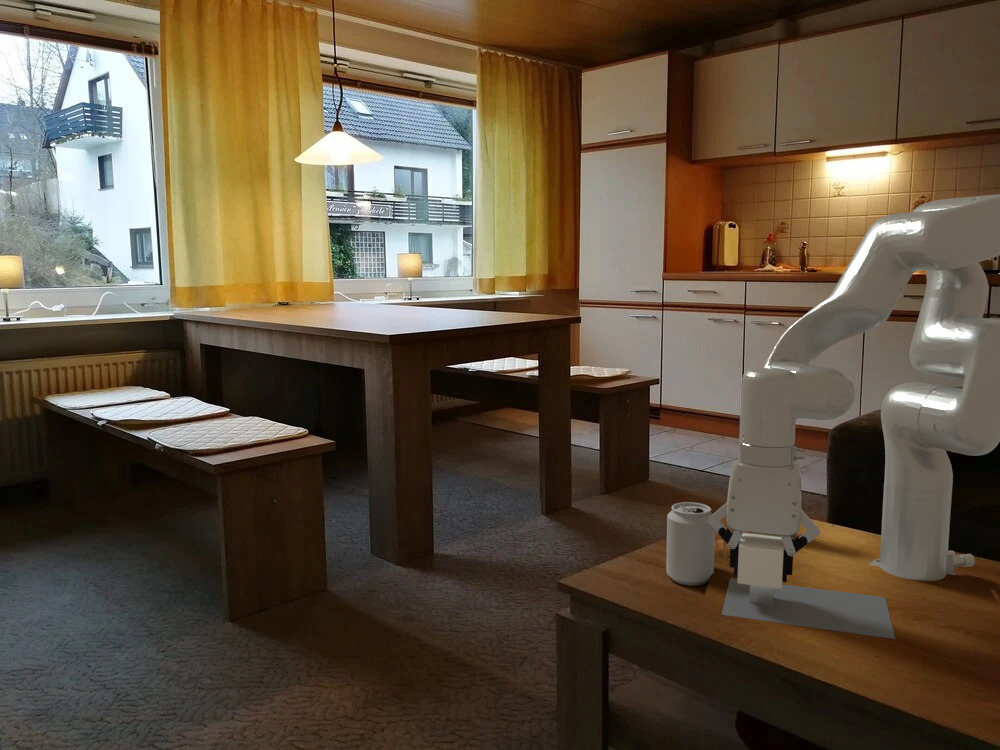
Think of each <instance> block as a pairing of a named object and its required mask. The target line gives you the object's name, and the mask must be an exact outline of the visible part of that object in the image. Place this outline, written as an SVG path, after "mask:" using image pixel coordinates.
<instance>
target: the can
mask: <svg viewBox="0 0 1000 750" xmlns="http://www.w3.org/2000/svg"><path fill="white" fill-rule="evenodd" d="M712 514H713V513H712V508H711V507H710V506H708V505H707V504H704V503H699V502H693V501H689V502H688V501H683V502H678V503H677V502H676V503H674V504H673V505H671V510H670V511H669V512H668V514H667V515H666V516H667V517H666V561H665V562H666V563H665V565H666V567H665V569H666V574H667V575H668V576H669V577H670V579H672V581H673V582H675V583H677V584H681V585H684V586H701V585H705V584H707V583H708V582H709V581H710V578H711V576H712V575H713V574H714V572H715V562H714V549H715V541H716V538H715V537H716V531H715V530H714V528H713V527H712V526H711V525H710V524H709V523H708V519H709V517H710V516H711V515H712Z"/></svg>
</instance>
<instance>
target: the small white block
mask: <svg viewBox="0 0 1000 750" xmlns="http://www.w3.org/2000/svg"><path fill="white" fill-rule="evenodd" d="M773 591H774V588H769V587H762V586H754V585H750V596H749V603H755V604H762V605H770V606H773Z"/></svg>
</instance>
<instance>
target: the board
mask: <svg viewBox="0 0 1000 750" xmlns="http://www.w3.org/2000/svg"><path fill="white" fill-rule="evenodd" d="M737 579H738V578H734V577H731V578H730V577H729V581H728V586H727V590H726V594H725V599H724V604H723V607H722V611H721V616H725V617H733V618H740V619H746V620H747V619H748V620H755V621H763V622H770V623H777V624H784V625H791V626H797V627H805V628H811V629H818V630H826V631H827V630H828V631H833V632H834V631H835V632H839V633H840V632H841V633H847V634H856V635H862V636H863V635H864V636H868V637H869V636H870V637H875V638H876V637H877V638H883V639H890V640H891V639H892V640H896V635H895V631H894V628H893V623H892V619H891V616H890V615H891V614H890V611H889V607H888V604H887V600H886V597H885V596H878V595H870V594H862V593H855V592H854V593H852V592H846V591H845V592H844V591H838V590H831V589H822V588H814V587H813V588H812V587H806V586H797V585H789V584H782V589H777V588H774V591H773V606H770V605H762V604H755V603H749V596H750V585H747V584H739V583H737Z"/></svg>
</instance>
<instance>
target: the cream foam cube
mask: <svg viewBox="0 0 1000 750" xmlns="http://www.w3.org/2000/svg"><path fill="white" fill-rule="evenodd" d="M784 550H785V547H784V544H783V541H782V538H781V537H775V536H766V535H758V534H756V533H749V532H743V534H742V536H741V538H740V543H739V555H738V576H737V578H736V579H737V583H739V584H747V585H754V586H762V587H769V588H777V589H782V585H783V581H782V572H783V553H784Z"/></svg>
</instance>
